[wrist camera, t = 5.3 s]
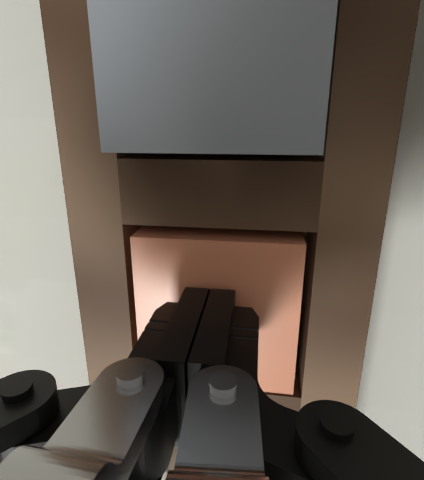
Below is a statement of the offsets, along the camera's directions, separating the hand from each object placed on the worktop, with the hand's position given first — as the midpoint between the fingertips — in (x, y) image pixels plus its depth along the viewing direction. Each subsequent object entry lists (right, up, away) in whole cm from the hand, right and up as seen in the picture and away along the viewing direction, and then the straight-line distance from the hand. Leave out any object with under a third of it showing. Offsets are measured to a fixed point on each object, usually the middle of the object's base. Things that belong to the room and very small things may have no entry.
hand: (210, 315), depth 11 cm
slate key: (0, +7, -2) cm, 7 cm away
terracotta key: (0, +1, +2) cm, 2 cm away
